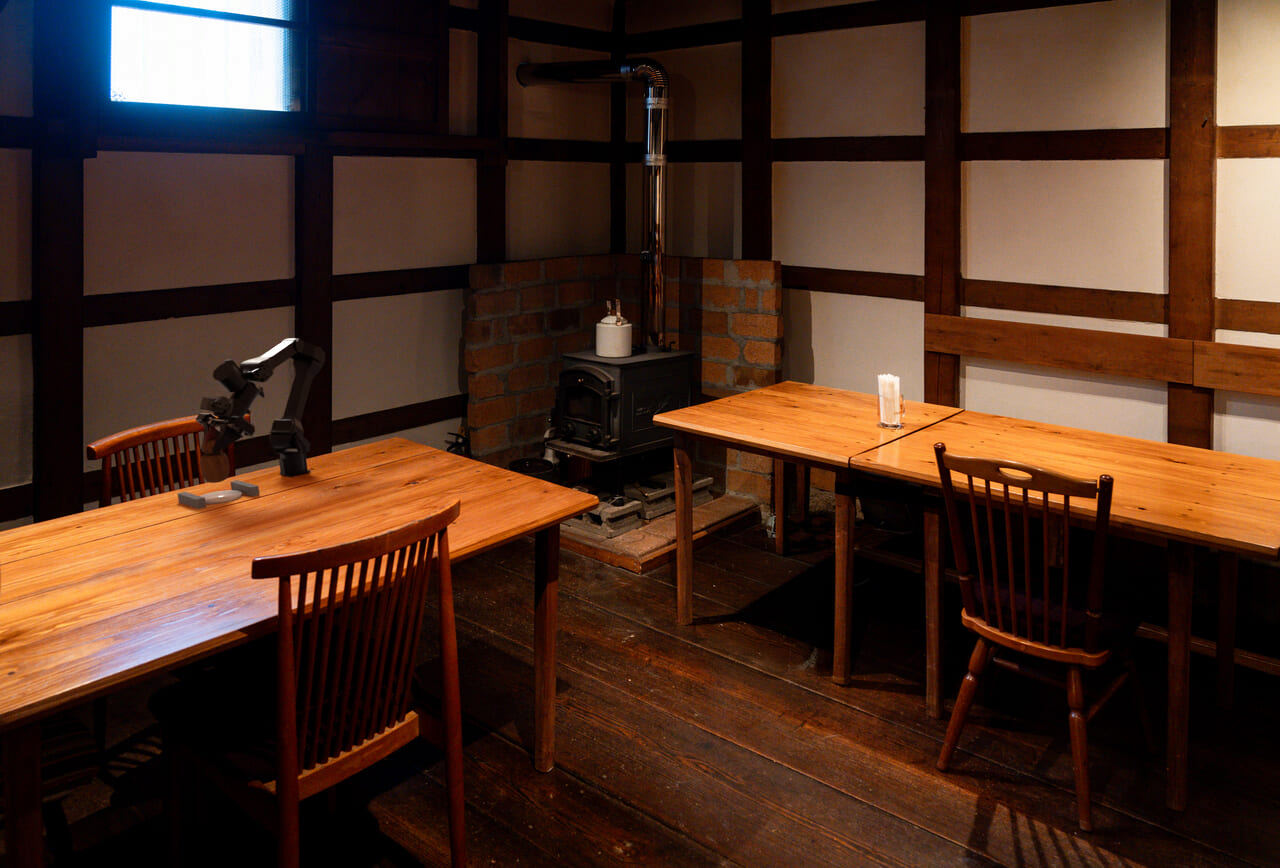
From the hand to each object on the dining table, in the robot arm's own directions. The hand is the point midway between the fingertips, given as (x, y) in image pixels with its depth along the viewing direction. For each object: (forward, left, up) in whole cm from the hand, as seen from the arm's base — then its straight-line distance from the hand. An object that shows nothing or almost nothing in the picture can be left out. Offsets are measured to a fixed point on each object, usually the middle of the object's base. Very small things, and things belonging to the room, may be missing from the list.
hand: (207, 451), depth 252 cm
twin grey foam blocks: (-1, 0, -13) cm, 13 cm away
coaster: (-1, 0, -13) cm, 13 cm away
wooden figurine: (-1, 0, -8) cm, 9 cm away
